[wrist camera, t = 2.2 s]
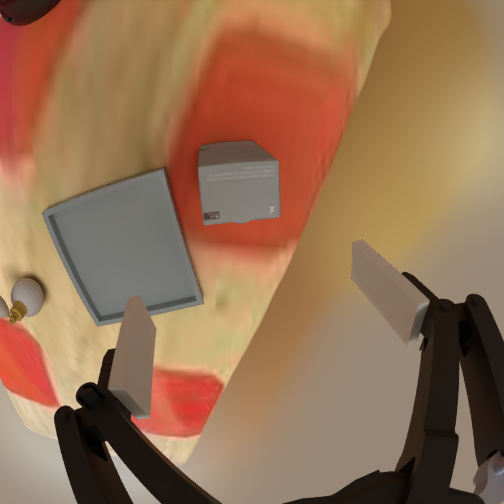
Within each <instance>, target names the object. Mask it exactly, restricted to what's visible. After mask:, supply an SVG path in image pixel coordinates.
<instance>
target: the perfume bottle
mask: <svg viewBox="0 0 504 504" xmlns="http://www.w3.org/2000/svg"><path fill="white" fill-rule="evenodd" d="M11 301H12V304H13V307H12V308H11V310H10V313H11V316H10V313H9V309H8V306H7V304H6V302H5V301H4V300H3V298H2V297H1V296H0V317H3V318H4V317H10V321H9V323H10V324H9V325H12V324H13V323H16V320H17V321H21V320H22V318H23V317H24V316H25V317H32V316H34V315H36V314H38V313H39V311H40V310H41V309H42V306H43V302H44V295H43V292H42V289H41V287H40V285H39V284H38V283H37V282H36V281H34V280H32V279H29V278H23V279H20V280H19V281H17V282H16V283H15V284H14V286H13V288H12V291H11Z"/></svg>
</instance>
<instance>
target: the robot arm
mask: <svg viewBox="0 0 504 504" xmlns="http://www.w3.org/2000/svg"><path fill="white" fill-rule="evenodd" d="M59 1H60V0H0V14H1V15H2V17H3V18H4V19H5V21H7V22H8V23H11V24H13V25H17V26H21V25H26V24H29V23H31V22H34V21H35V20H37V19H39V18H40V17H42V16H43V15H45V14H46V13H47V12H49V11H50V10H51V9H52V8H53V7H54V6H55V5H57V4H58V2H59ZM351 279H352V280H353V281H354V283H355V284H356V285H357V286H358V287H359V288H360V289H361V291H362V292H363V293H364V294H365V295H366V296H367V298H368V299H369V300H370V301H371V302H372V304H373V305H374V306H375V307H376V308H377V310H378V311H379V312H380V313H381V315H382V316H383V317H384V318H385V319H386V321H387V322H388V323H389V324H390V326H392V328H393V329H394V330H395V332H396V333H397V334H398V335H399V337H400V338H401V339H402V340H403V342H404V343H405V344H406V345H409V344H411V343H413V342H415V341H417V340H418V337H419V334H420V332H421V334H422V335H423V336H424V338H423V341H422V344H421V346H420V349H419V350H421V349H422V353H421V363H420V370H419V377H418V385H417V390H416V396H415V402H414V407H413V413H412V417H411V422H410V426H409V430H408V434H407V438H406V442H405V446H404V450H403V453H402V455H401V457H400V459H399V461H398V463H397V466H396V468H395V471H388V472H381V473H380V471H379V470H377V471H374V472H372V473H370V474H368V475H366V476H363V477H361V478H359V479H356V480H355V481H353V482H352V483H350V484H349V485H347V486H346V487H344V488H343V489H341V490H340V491H338V492H337V493H335V494H333V495H330V496H323V497H314V498H302V499H299V500H295V501H291V502H287V503H283V504H500V503H501V502H503V501H504V341H503V338H502V336H501V333H500V332H499V329H498V327H497V324H496V322H495V320H494V318H493V315H492V313H491V311H490V309H489V307H488V305H487V303H486V301H485V300H484V298H483V297H481V296H480V295H477V294H469V295H468V296H467V298H466V301H465V302H464V303H458V304H454V303H453V302H452V301H450V300H448V299H439V298H437V297H436V296H435V295H434V294H433V293H432V292H431V291H430V290H429V289H428V288H427V287H426V286H424V285H423V284H422V283H421V282H419V280H418V279H417V278H416V277H415V276H413V275H411V274H409V273H407V272H403V273H400V272H399V271H398V270H397V269H395V268H394V267H393V266H392V265H391V264H390V263H389V262H387V261H386V260H385V259H384V258H383V257H382V256H381V255H380V254H379V253H377V252H376V251H375V250H374V249H373V248H372V247H370V246H369V245H368V244H367V243H365V242H364V241H363V240H359V241H355V242H352V270H351ZM155 337H156V327H155V325H154V323H153V321H152V319H151V317H150V315H149V313H148V311H147V309H146V307H145V305H144V303H143V301H142V298H141V296H140V295H138V296H133V297H129V298H128V301H127V305H126V309H125V312H124V316H123V320H122V324H121V328H120V332H119V336H118V341H117V345H116V348H114V349H108V351H107V352H106V354H105V356H104V357H103V362H102V366H101V370H100V371H101V372H100V375H99V379H98V384H97V385H96V384H95V383H93V382H88V383H85V384H83V385H82V386H81V387H80V388H79V389H78V391H77V393H76V400H77V402H78V403H79V404H80V405H81V406H82V408H79V409H76V410H73V409H72V408H71V407H70V406H66V405H65V406H62V407H60V408H59V409H58V410H57V411H56V413H55V415H54V423H55V428H56V433H57V437H58V441H59V446H60V449H61V454H62V458H63V461H64V465H65V468H66V472H67V475H68V478H69V481H70V484H71V487H72V490H73V493H74V495H75V498H76V501H77V503H78V504H133V502H132V500H131V498H130V496H129V494H128V492H127V491H126V489H125V487H124V485H123V483H122V481H121V479H120V476H119V474H118V472H117V470H116V468H115V466H114V463H113V461H112V459H111V456H110V454H109V451H108V449H107V446H106V444H105V441H108V443H109V444H110V446H111V447H112V448H113V450H114V451H115V452H116V453H117V455H118V456H119V457H120V458H121V460H122V461H123V462H124V463H125V464H126V466H127V467H128V468H129V469H130V471H131V472H132V473H133V474H134V475H135V476H136V477H137V478H138V480H139V481H140V482H141V483H142V484H143V485H144V486H145V487H146V488H147V490H149V492H150V493H151V494H152V495H153V496H154V497H155V498H156V499H157V500H158V501H159V502H160V503H161V504H222V503H220V502H219V501H218V500H216V499H215V498H214V497H212V496H211V495H210V494H208V493H207V492H206V491H205V490H203V489H202V488H201V487H200V486H198V485H197V484H196V483H195V482H194V481H192V480H191V479H190V478H189V477H188V476H186V475H185V474H184V473H183V472H182V471H181V470H180V469H178V468H177V467H176V466H175V465H174V464H173V463H172V462H171V461H170V460H169V459H168V458H167V457H166V456H165V455H163V454H162V453H161V452H160V451H159V450H158V449H157V448H156V447H155V446H154V445H153V444H152V443H151V441H150V440H149V439H148V438H147V437H146V436H145V435H144V434H143V433H142V432H141V431H140V430H139V429H138V428H137V426H136V425H135V424H134V423H133V422H132V421H131V414H132V415H133V416H134V417H135V418H136V419H145V418H150V417H151V390H152V373H153V360H154V348H155ZM459 360H460V364H461V368H462V372H463V377H464V381H465V386H466V391H467V396H468V401H469V407H470V413H471V420H472V427H473V436H474V446H475V454H476V459H477V464H478V467H479V468H478V470H477V472H476V475H475V477H474V479H473V483H474V485H476V487H475V491H474V493H469V492H465V491H461V490H457V489H454V488H450V487H449V486H450V482H451V478H452V474H453V469H454V464H455V460H456V453H457V448H458V441H459V437H458V435H457V434H456V433H455V424H456V415H457V405H458V391H459Z"/></svg>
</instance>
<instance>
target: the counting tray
mask: <svg viewBox="0 0 504 504" xmlns="http://www.w3.org/2000/svg"><path fill="white" fill-rule="evenodd" d="M42 215H43V218H44V220H45V223H46V225H47V228H48V230H49V233H50V235H51V238H52V240H53V242H54V245H55V247H56V249H57V252H58V254H59V256H60V258H61V260H62V262H63V265H64V267H65V269H66V271H67V273H68V275H69V277H70V279H71V281H72V283H73V285H74V287H75V288H76V290H77V292H78V294H79V296H80V298H81V300H82V301H83V303H84V305H85V307H86V308H87V310H88V312H89V314H90V315H91V317H92V319H93V320H94V322H95V324H96V325H97V326H103V325H108V324H113V323H118V322H122V320H123V316H124V312H125V309H126V305H127V301H128V298H129V297H133V296H138V295H140V296H141V298H142V301H143V303H144V305H145V307H146V309H147V311H148V313H149V315H150V316H152V315H157V314H161V313H166V312H171V311H175V310H179V309H184V308H188V307H193V306H197V305H201V304H204V300H203V294H202V291H201V288H200V285H199V282H198V279H197V276H196V273H195V269H194V266H193V263H192V260H191V257H190V254H189V250H188V247H187V244H186V240H185V237H184V234H183V230H182V227H181V224H180V220H179V217H178V213H177V210H176V206H175V202H174V199H173V195H172V191H171V188H170V184H169V180H168V176H167V172H166V168H165V167H162V168H158V169H155V170H151V171H148V172H145V173H141V174H138V175H135V176H132V177H129V178H125V179H122V180H119V181H116V182H113V183H110V184H107V185H105V186H102V187H99V188H96V189H93V190H91V191H88V192H85V193H83V194H80V195H77V196H75V197H72V198H70V199H67V200H65V201H62V202H60V203H57V204H55V205H53V206H50V207H48V208H47V209H45V210H44V211H43V212H42Z"/></svg>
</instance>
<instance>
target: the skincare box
mask: <svg viewBox="0 0 504 504" xmlns="http://www.w3.org/2000/svg"><path fill="white" fill-rule="evenodd" d="M198 178H199V189H200V199H201V208H202V217H203V224H204V225H212V224H221V223H229V222H235V223H240V224H241V223H246V222H249V221H250V220H260V219H269V218H278V217H280V180H279V161H278V160H277V159H275V158H274V157H273V156H272V155H270V154H269V153H268V152H267V151H265V150H264V149H263V148H262V147H260V146H259V145H258V144H257V143H255V142H254V141H252V140H249V141H231V142H220V143H213V144H206V145H201V146H200V149H199V159H198Z"/></svg>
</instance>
